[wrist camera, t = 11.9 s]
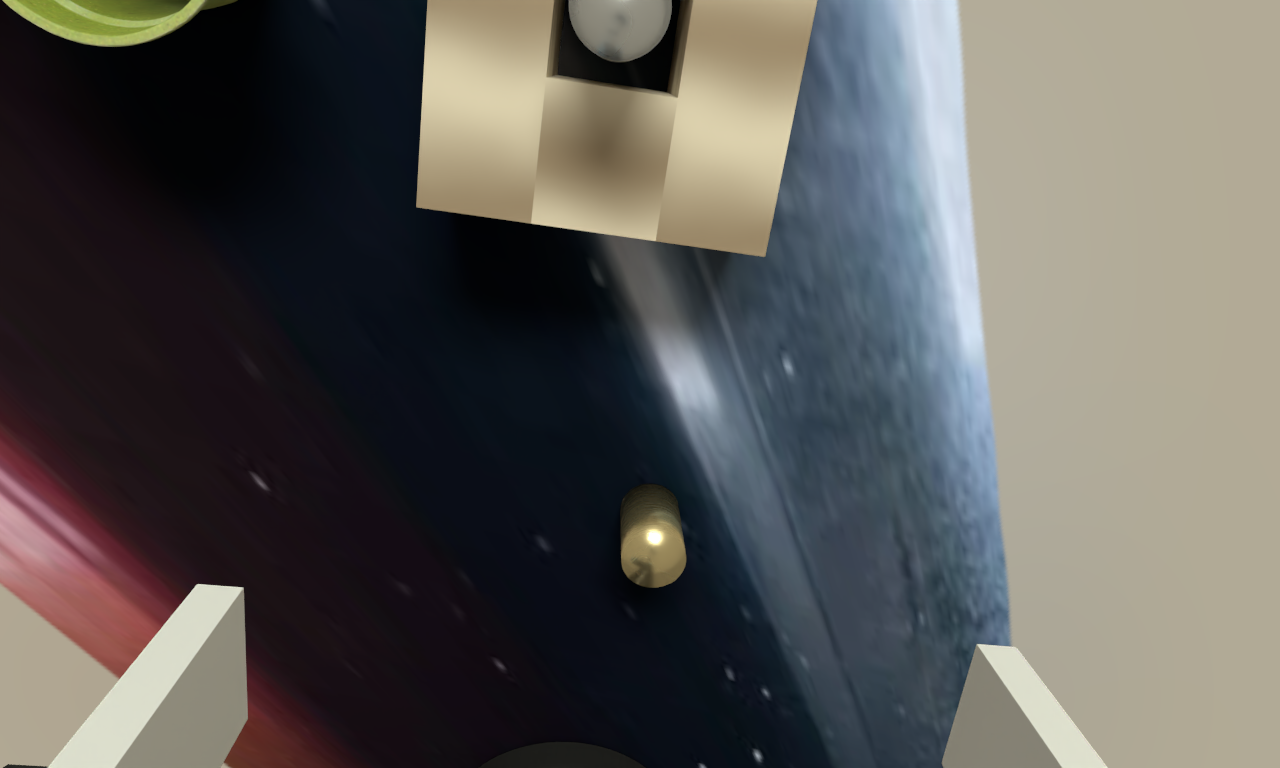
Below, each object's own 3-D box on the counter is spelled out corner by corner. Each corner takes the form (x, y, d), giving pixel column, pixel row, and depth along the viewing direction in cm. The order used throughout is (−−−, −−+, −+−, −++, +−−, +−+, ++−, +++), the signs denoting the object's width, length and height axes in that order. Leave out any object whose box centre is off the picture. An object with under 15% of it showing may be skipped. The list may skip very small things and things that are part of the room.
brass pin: (673, 538, 47) (680, 590, 42) (616, 531, 47) (616, 583, 42) (683, 487, 46) (691, 535, 41) (624, 480, 45) (626, 528, 41)
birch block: (740, 225, 41) (765, 256, 34) (448, 183, 40) (416, 207, 33) (812, -155, 35) (859, -205, 29) (475, -218, 34) (443, -284, 27)
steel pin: (649, 67, 38) (663, 67, 27) (578, 57, 38) (563, 53, 27) (659, -11, 37) (679, -44, 26) (586, -21, 37) (574, -60, 25)
